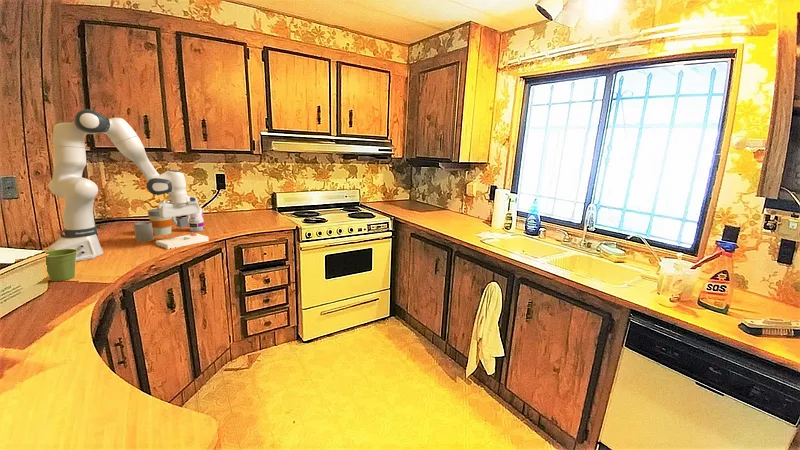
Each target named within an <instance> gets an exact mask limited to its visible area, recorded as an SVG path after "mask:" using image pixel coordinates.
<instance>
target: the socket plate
mask: <svg viewBox="0 0 800 450" xmlns="http://www.w3.org/2000/svg"><path fill="white" fill-rule="evenodd" d="M209 240H210V239H209V236H207V235H205V234H200V233H196V232H193V233H190V234H186V235H180V236H175V237H170V238H165V239H159V240H155V243H156V246H158V247H160V246H161V248H163V247H164V248H163V249H166V248H167V250H170V248H171V249H175V247H176V248H181V247H186V246H190V245H195V244H200V243H204V242H209Z"/></svg>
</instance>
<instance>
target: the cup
mask: <svg viewBox="0 0 800 450" xmlns="http://www.w3.org/2000/svg"><path fill="white" fill-rule="evenodd" d="M133 227H134V228H133V229H134V234H135V241H136V242H138V243H140V242H141V243H143V242H150V240H151V241H153V240H155V238H154V232H153V228H152V223H151V222H150V221H137V222H134V223H133Z"/></svg>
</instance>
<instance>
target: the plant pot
mask: <svg viewBox="0 0 800 450" xmlns="http://www.w3.org/2000/svg"><path fill="white" fill-rule="evenodd" d="M44 252H45V253H46V254H49V255H48V256H47V257H46V265H47V270H46V272H47V275H48V277H49V279H50V281H51V282H61V281H68V280H70V279H73V278H74V277H75V275H76V261H75V259H76V253H77V252H78V250H77V249H59V250H52V251H48V250H47V251H44Z"/></svg>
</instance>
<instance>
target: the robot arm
mask: <svg viewBox="0 0 800 450" xmlns="http://www.w3.org/2000/svg"><path fill="white" fill-rule="evenodd" d="M100 133H101V134H104V135H106V136H107V137H108V138H109V139H110V140H111V143H112V144H113V145H114V146H115V148H116V149H117V150H118V151H119V152H120V153H121V154H122V155H123V156H124V157H125V158H127V159H129V160H130V161H131V162H132V163H134V164H135V165H136V166H137V167H138V168H137V169H139V171H140V172H141V173H142V174H143V176H144V177H145V180H146V189H147V192H149V193H150V194H152V195H155V196H160V195H165V194H168V199H169V200H163V201H160V202H159V203H158V209H160V210H159V213H160V217H161V218H163V219H165V218H172V220H173V221H172V222H173V223H174V225H175V226H176V225H178V224H179V221H176V220H175V219H176V218H178V216H181V217H183V216H185V217H186V218H187V219H188V224H189V218H190V214H196V213H199V212H200V207H201V206H200V204H199V201H198V197H197V196H196V197H195V196H192V195H188V191H187V189H186V188H187V182H186V177H185V175H184V173H183V172H182V171H181V170H175V169H167V170H166V171H165V172H163V173H159V172H158V171H157V170H156V168H155V167H154V165H153V164H152V163H151V161H150V160H149V158H148V155H147V153H146V150H145V147H144V144H143V142H142V141H141V139H140V137H139V136H138V134H137V132H136V131H135V130H134V129H133V127H132V126H131V125H130V124H129V123H128V122H127V121H126V120H125V119H123V118H121V117H111V118H108V117H107V116H105V115H103V114H102V113H100V112H99V111H95V110H93V109H90V108H89V109H87V108H85V109H82V110H81V109H80V110H79V111H78V112H76V114H75V116H74V120H73V121H71V122H59V123H57V124H55V125H54V128H53V133H52V145H53V146H52V147H53V157H54V165H53V166H54V167H53V173H52V177H51V180H50V181H49V183H48V189H49V191H50V192H51V193H52V194H53V195H54V196H57V197H58V198H61V199H65V203H64V204H65V206H64V209H63V211H62V219H63V225H64V229H63V230H61V229H57V230H56V233H57V234H58V235H60V238H58V239H57V240H56V241H55V242H53V243H52V244H51V245H50V246H48V247H47V251H52V250H59V249H77V250H78V252H77V253H76V259H75V262H79V261H86V260H91V259H96V258H97V257H99V256H101V255H103V254H104V252H105V251H104V250H103V248H102V246H101V243H100V240H99V238H98V237H99V233H98V228H97V225H96V222H95V216H94V202H95V197H96V196H97V195H98V194H99V187H98V185H97V184H96V183H95V182H94V181H92V180H90V179H89V178H86V177H83V172H84V169H85V167H86V166H87V154H86V153H87V152H86V144H85V143H86V142H85V139H86V136H89V135H97V134H100Z"/></svg>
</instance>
